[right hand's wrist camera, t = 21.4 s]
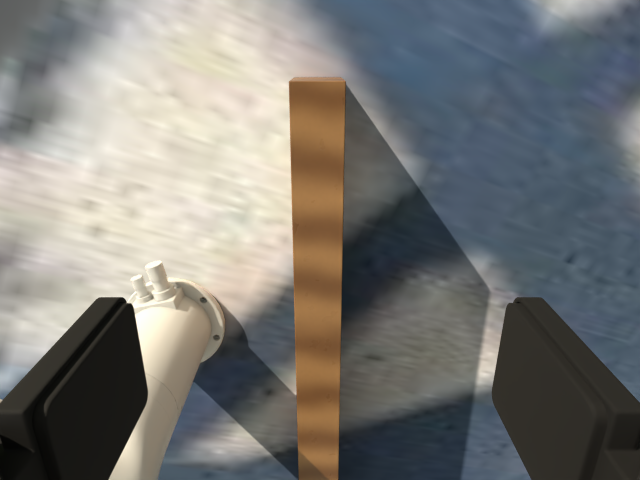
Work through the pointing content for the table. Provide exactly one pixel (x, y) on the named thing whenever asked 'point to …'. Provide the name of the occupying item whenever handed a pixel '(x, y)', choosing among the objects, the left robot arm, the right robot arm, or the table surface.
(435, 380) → the table surface
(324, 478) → the beam
